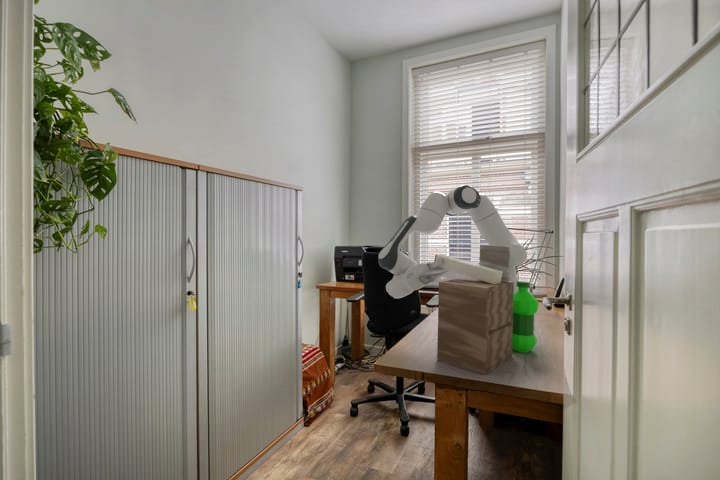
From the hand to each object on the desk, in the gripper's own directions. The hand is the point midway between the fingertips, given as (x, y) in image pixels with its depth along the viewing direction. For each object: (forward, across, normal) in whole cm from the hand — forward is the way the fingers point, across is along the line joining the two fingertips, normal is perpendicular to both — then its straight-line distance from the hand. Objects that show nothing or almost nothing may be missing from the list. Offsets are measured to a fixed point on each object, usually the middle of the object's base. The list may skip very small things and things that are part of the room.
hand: (446, 260), depth 127 cm
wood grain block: (-5, -3, +34) cm, 35 cm away
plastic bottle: (+2, +18, +39) cm, 43 cm away
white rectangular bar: (+4, -1, +8) cm, 9 cm away
